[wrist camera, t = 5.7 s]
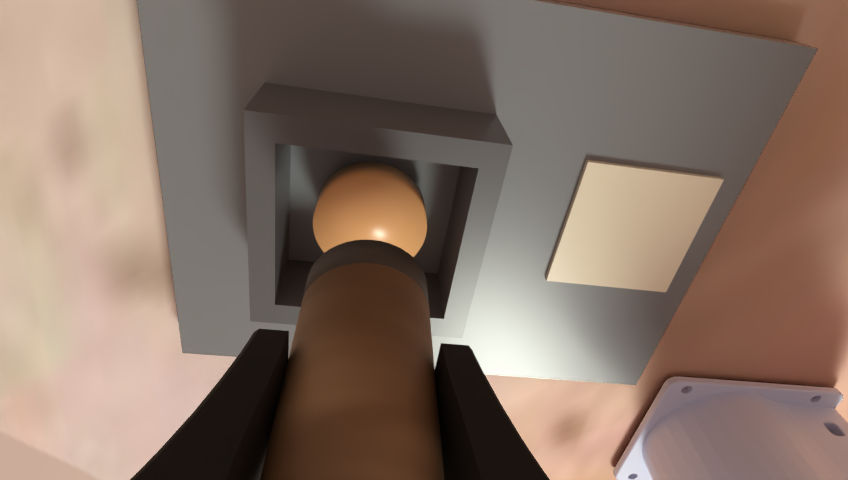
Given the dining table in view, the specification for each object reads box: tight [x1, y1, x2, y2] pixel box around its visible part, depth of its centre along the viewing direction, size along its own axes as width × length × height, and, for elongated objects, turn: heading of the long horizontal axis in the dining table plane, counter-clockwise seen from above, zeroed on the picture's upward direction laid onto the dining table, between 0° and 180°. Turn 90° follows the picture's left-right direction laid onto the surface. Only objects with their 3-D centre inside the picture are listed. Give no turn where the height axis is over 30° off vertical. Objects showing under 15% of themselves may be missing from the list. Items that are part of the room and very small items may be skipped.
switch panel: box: [137, 0, 818, 385], centre depth 18 cm, size 20×15×4 cm
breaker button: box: [313, 162, 427, 257], centre depth 16 cm, size 4×4×1 cm
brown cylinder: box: [260, 240, 444, 480], centre depth 10 cm, size 3×3×9 cm
